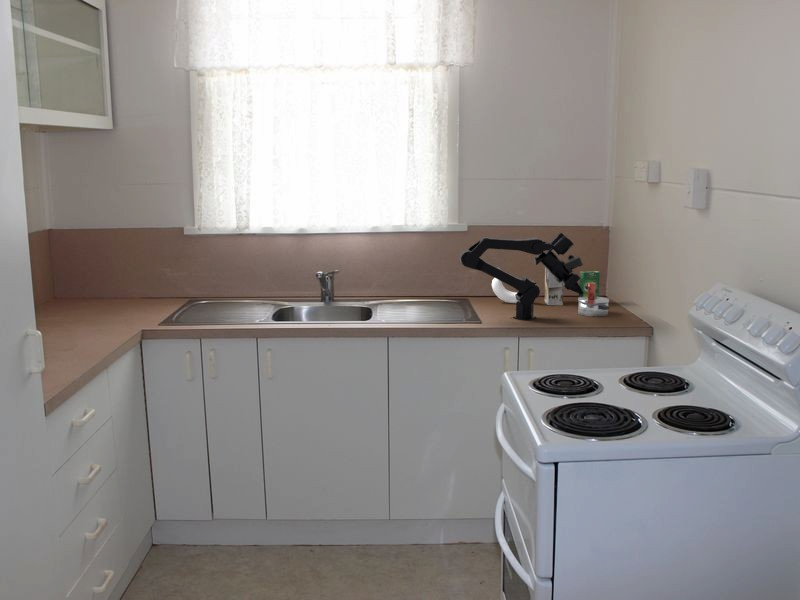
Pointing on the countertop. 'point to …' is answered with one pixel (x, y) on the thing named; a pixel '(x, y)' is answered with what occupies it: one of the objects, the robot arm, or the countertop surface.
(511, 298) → the banana
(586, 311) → the pot
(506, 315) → the countertop surface
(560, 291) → the coffee box
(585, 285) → the coffee box
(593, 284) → the lid
